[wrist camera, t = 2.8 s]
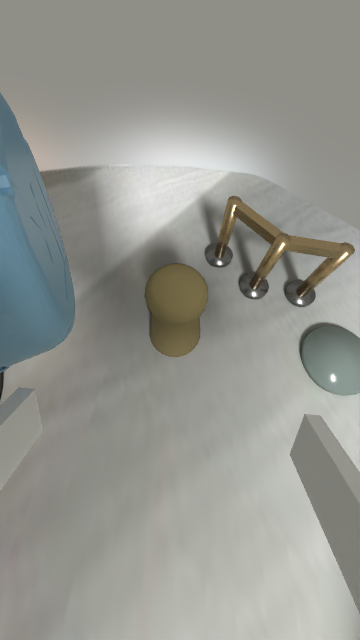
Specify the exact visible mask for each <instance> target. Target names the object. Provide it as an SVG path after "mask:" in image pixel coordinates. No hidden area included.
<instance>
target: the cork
mask: <svg viewBox="0 0 360 640" xmlns="http://www.w3.org/2000/svg"><path fill="white" fill-rule="evenodd" d="M145 299H146V303H147V307H148V309H149V310H150V312H151V313H152V318H151V326H150V338H151V342H152V344H153V345H154V347H155V348H156V349H157V350H158V351H159V352H161V353H162V354H164V355H167V356H171V357H179V356H183V355H186V354H188V353H189V352H191V351H192V350H193V349H194V348H195V347H196V345H197V344H198V341H199V338H200V319H199V316H200V315H201V314H202V312H203V311H204V309H205V306H206V304H207V301H208V288H207V285H206V282H205V279H204V278H203V277H202V276H201V274H200V273H199V272H198V271H196V270H195V269H193V268H192V267H190V266H188V265H184V264H177V263H173V264H169V265H165V266H163V267H161V268H159V269H158V270H156V271H155V272H154V273H153V274H152V275H151V276H150V278H149V280H148V282H147V284H146V289H145Z"/></svg>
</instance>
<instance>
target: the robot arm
mask: <svg viewBox="0 0 360 640" xmlns="http://www.w3.org/2000/svg"><path fill="white" fill-rule="evenodd" d="M74 319H75V298H74V290H73V284H72V279H71V274H70V269H69V265H68V261H67V256H66V252H65V249H64V245H63V241H62V238H61V234H60V231H59V228H58V224H57V221H56V218H55V215H54V211H53V208H52V205H51V202H50V200H49V197H48V194H47V191H46V188H45V185H44V183H43V180H42V177H41V175H40V172H39V169H38V167H37V164H36V162H35V159H34V157H33V154H32V152H31V150H30V148H29V145H28V143H27V142H26V140H25V139H24V138H23V135H22V133H21V131H20V128H19V126H18V124H17V121H16V118H15V116H14V114H13V112H12V110H11V108H10V107H9V105H8V104H7V102H6V100H5V99H4V98H3V96H2V95H1V93H0V394H1V388H2V373H1V372H4V371H5V370H6V369H7V368H9V366H11V365H13V364H16V363H18V362H21V361H23V360H26V359H29V358H31V357H34V356H36V355H39V354H41V353H44V352H46V351H49V350H51V349H53V348H55V347H56V346H57V345H58V344H60V343H61V342H62V341H64V340H65V338H66V337H67V335H68V334H69V333H70V331H71V329H72V327H73V323H74ZM42 432H43V429H42V423H41V418H40V413H39V407H38V402H37V397H36V391H35V389H28V388H19V389H17V390H16V391H15V392H14V393H13V394H12V395H11V396H10V397H9V398H8V399H7V400H6V401H5V402H4V403H3V404H2V405H1V406H0V491H1V490H2V488H3V487H4V485H5V484H6V483H7V481H8V480H9V478H10V477H11V475H12V474H13V473H14V471H15V470H16V468H17V467H18V466H19V464H20V463H21V461H22V460H23V459H24V457H25V456H26V454H27V453H28V452H29V450H30V449H31V447H32V446H33V445H34V443H35V442H36V440H37V439H38V438H39V436H40V435H41V433H42ZM290 456H291V458H292V461H293V463H294V465H295V467H296V470H297V472H298V474H299V476H300V479H301V481H302V483H303V486H304V488H305V490H306V492H307V495H308V497H309V499H310V501H311V504H312V506H313V508H314V511H315V513H316V515H317V517H318V520H319V522H320V524H321V526H322V529H323V531H324V533H325V536H326V538H327V540H328V542H329V545H330V547H331V549H332V551H333V554H334V556H335V558H336V561H337V563H338V565H339V567H340V570H341V572H342V574H343V576H344V579H345V581H346V583H347V586H348V588H349V590H350V592H351V595H352V597H353V599H354V601H355V604H356V606H357V608H358V611H359V613H360V472H359V471H358V469H357V468H356V466H355V465H354V463H353V462H352V461H351V459H350V458H349V456H348V455H347V453H346V452H345V450H344V449H343V448H342V446H341V445H340V443H339V442H338V440H337V439H336V437H335V436H334V434H333V433H332V432H331V430H330V429H329V427H328V426H327V424H326V423H325V421H324V420H323V419H322V417H321V416H318V415H308V414H305V415H304V418H303V420H302V423H301V426H300V428H299V431H298V434H297V436H296V439H295V442H294V444H293V447H292V450H291V452H290Z"/></svg>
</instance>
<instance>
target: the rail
mask: <svg viewBox="0 0 360 640" xmlns="http://www.w3.org/2000/svg"><path fill="white" fill-rule="evenodd" d="M236 218H239V219H240V220H241V221H242V222H244V223H245V224H246V225H247V226H249V227H250V228H251V229H252V230H254V231H255V232H256V233H257V234H259V235H260V236H261V237H262V238H264V239H265V240H266V241H267V242H269V243H270V244H271V246H270V248H269V250H268V252H267V253H266V255H265V257H264V259H263V260H262V262H261V264H260V265H259V267H258V269H257V271H256V272H255V273H248V274H246V275H245V276H243V278H242V279H241V281H240V290H241V292H242V293H243V294H244V295H245V296H246V297H248V298H250V299H260V298H262V297H263V296H264V295H265V294H266V293H267V291H268V288H269V285H268V282H267V280H266V277H267V276H268V274H269V273H270V271H271V270H272V268H273V267H274V265H275V264H276V262H277V261H278V259H279V258H280V257H281V255H282V254H283V252H284V251H291V252H297V253H304V254H310V255H316V256H323V257H328V258H327V259H326V260H325V261H324V262H323V263H322V264H321V265H320V266H319V267H318V268H317V269H316V270H315V271H314V272H313V273H312V274H311V275H310V276H309V277H308V278H307V279H306V280H305V281H301V280H295V281H292V282H291V283H290V284H289V285H288V286H287V287H286V290H285V295H286V297H287V299H288V300H289V302H290V303H292V304H293V305H295V306H298V307H305V306H308V305H310V304H311V303H312V302H313V301H314V299H315V291H314V288H315V287H316V286H317V285H318V284H320V283H321V282H322V281H323V280H324V279H325V278H326V277H327V276H328V275H330V274H331V273H332V272H333V271H334V270H335V269H336V268H337V267H339V266H340V265H341V264H342V263H343V262H344V261H345V260H346V259H347V258H349V257H350V256H351V255H352V254H353V253H354V251H355V249H354V247H353V246H352V245H351V244H349V243H335V242H329V241H322V240H316V239H309V238H303V237H296V236H290V235H288V234H286V233H282V232H281V231H280V230H279V229H277V228H276V227H275V226H273V225H272V224H271V223H269V222H268V221H267V220H265V219H264V218H263V217H262V216H260V215H259V214H258V213H256V212H255V211H254V210H252V209H251V208H250V207H248V206H247V205H246V204H245V203H243V202H242V200H241V199H240V198H239V197H237V196H231V197H230V198H229V199H228V202H227V206H226V210H225V214H224V218H223V222H222V225H221V229H220V233H219V237H218V241H217V243H215V244H212V245H210V246H209V247H208V249H207V251H206V260H207V261H208V263H209V264H211V265H212V266H215V267H225V266H227V265H228V264H229V263H230V262H231V259H232V256H233V254H232V251H231V249H230V248H229V247H228V243H229V239H230V236H231V233H232V230H233V227H234V224H235V221H236Z"/></svg>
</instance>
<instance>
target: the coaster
mask: <svg viewBox="0 0 360 640" xmlns="http://www.w3.org/2000/svg"><path fill="white" fill-rule="evenodd" d="M301 358H302V363H303V365H304V368H305V370H306V372H307V373H308V375H309V376H310V378H311V379H312V380H313V381H314V382H315V383H316V384H317V385H318V386H320V387H321V388H323V389H324V390H326V391H328V392H330V393H333V394H337V395H354V394H358V393H360V338H359V337H357V336H356V335H355V334H353V333H352V332H350V331H348V330H346V329H344V328H341V327H337V326H323V327H319V328H317V329H315V330H313V331H312V332H310V333H309V334H308V335H307V336H306V338H305V339H304V341H303V343H302V347H301Z"/></svg>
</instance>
